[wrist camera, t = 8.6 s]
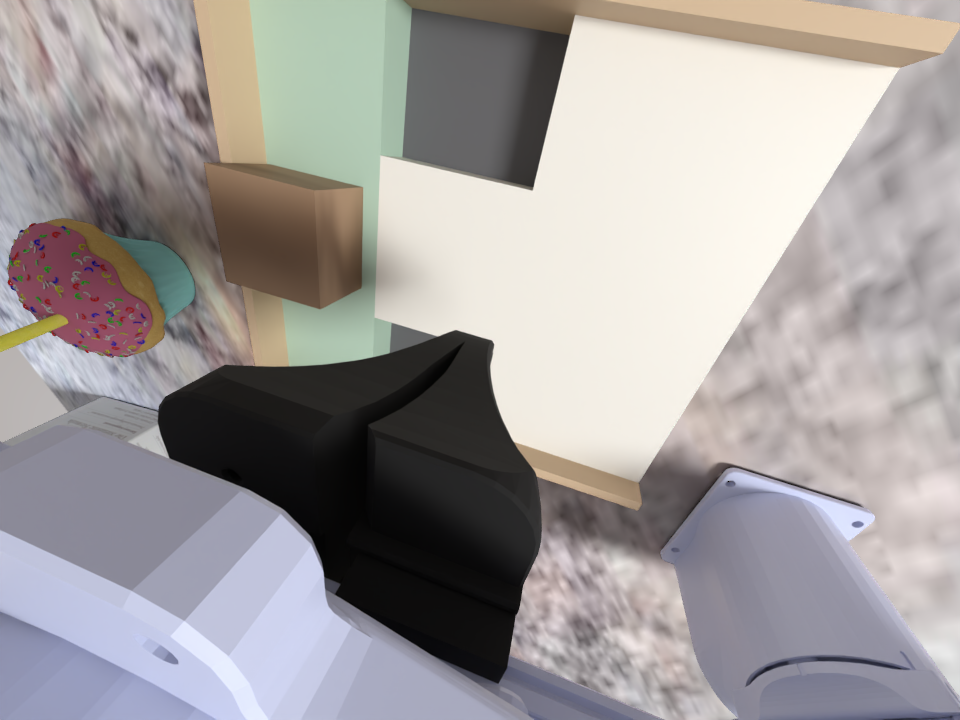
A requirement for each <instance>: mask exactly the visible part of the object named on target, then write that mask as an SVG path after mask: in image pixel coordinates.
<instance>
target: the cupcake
mask: <svg viewBox="0 0 960 720" xmlns="http://www.w3.org/2000/svg"><path fill="white" fill-rule="evenodd" d="M21 232H22V233H21ZM7 270H8V275H9V280H8V284H9V285H10V287H11V289H12V290H14V291H16V292H17V294H18V296H19V301H20V302H21V303H23V307H24V308H25V309H27V310H29V311H31V313H32V314H33V315H34V316H35V317H36V319H37V320H38V322H35V323H33V324H30V325H28V326H25V327H23V328H20V329H18V330H15V331H12V332H10V333H7V334H5V335H2V336H0V352H2V351H4V350H7V349H9V348H11V347H14V346H16V345H19V344H21V343H23V342H26V341H28V340H30V339H33V338H35V337H38V336H40V335H42V334H45V333H47V332H50V333H52V335H53V336H58V337H60V338H61V339H63V340H64V341H65V342H66V343H68V344H72V345H73V346H75V347H78V348H79V349H80V350H83V351H86V352H87V353H89V352H88V351H90V352H95V353H97V354H99V355H101V354H102V355H101V356H108V357H110V358H113V357H114V356H118V357H128V356H131V355H134V354H138V353H141V352H143V351H146V350H148V349H150V348H152V347H154V346H155V345H156V344H157V343H158V342H160V341H161V340H162V339H163V338H164V335H165V332H164V325H165V324H166V323H167V322H168V321H169V320H170V319H171V318H172V317H173V316H175V315H176V314H177V313H178V312H180V311H181V310H182V309H184V308H185V307H187V306H188V305H189V304H190V303H191V302H192V301H193V299H194V296H195V285H194V281H193V278H192V275H191V273H190V271H189V269H188V268H187V266H186V265H185V263H184V262H183V261H182V259H181V258H180V257H179V256H178V255H177V254H176V253H175V252H174V251H172V250H171V249H170V248H168V247H167V246H165V245H163V244H161V243H158V242H154V241H145V240H136V239H128V238H122V237H117V236H113V235H110V234H107V233H103V232H102V231H101V230H100V229H99V228H97V227H96V226H94V225H92V224H89V223H85V222H81V221H76V220H72V219H55V220H51V221H48V222H44V223H39V224H36V223H33V224H31V225H30V226H29V228H27V229H25V230H20V232H19V234H18V238H17V240H15V239H14V245H13V246H12V248H11V253H10V255H9V265H8V267H7ZM10 282H11V283H12V284H10ZM25 306H26V307H25ZM111 356H112V357H111Z"/></svg>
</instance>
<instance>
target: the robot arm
mask: <svg viewBox="0 0 960 720" xmlns="http://www.w3.org/2000/svg"><path fill="white" fill-rule="evenodd" d="M493 349H494V343H493V341H492V340H489V339H485V338H482V337H478V336H475V335H472V334H468V333H465V332H461V331H458V330H454V331H451V332H448V333H446V334H443V335H440V336H438V337H435V338H433V339H430V340H427V341H425V342H422V343H420V344H417V345H414V346H411V347H408V348H404V349H401V350H398V351H395V352H392V353H388V354H384V355H380V356H376V357H371V358H366V359H361V360H355V361H347V362H340V363H332V364H323V365H309V366H277V367H272V366H236V365H224V366H222V367H220V368H218V369H216V370H214V371H213V372H211V373H209V374H207V375H205V376H203V377H201V378H199V379H198V380H196V381H194V382H192V383H190V384H188V385H186V386H185V387H183V388H181V389H179V390H177V391H175V392H173V393H172V394H170V395H168V396H166V397H165V398H164V399H163V401H162V403H161V404H160V406H159V411H158V421H157V422H158V426H159V430H160V434H161V437H162V440H163V443H164V445H165V448H166V451H167V453H168V456H169V458H167V457H164V456H162V455H159V454H157V453H154V452H152V451H149V450H146V449H144V448H141V447H139V446H136V445H134V444H131V443H129V442H126V441H124V440H121V439H119V438H116V437H113V436H111V435H108V434H106V433H103V432H101V431H98V430H92V429H86V428H80V427H74V426H64V425H56V426H54V427H52V428H50V429H48V430H45V431H43V432H41V433H39V434H37V435H35V436H33V437H31V438H29V439H26V440H24V441H22V442H20V443H18V444H16V445H14V446H10V445H7V444H5V443H3V442H0V720H664V719H662V718H659V717H657V716H654V715H652V714H650V713H647V712H645V711H643V710H640V709H638V708H635V707H633V706H631V705H628V704H626V703H623V702H621V701H619V700H616V699H614V698H611V697H609V696H607V695H604V694H602V693H600V692H597V691H595V690H592V689H590V688H588V687H585V686H583V685H580V684H578V683H576V682H573V681H571V680H568V679H566V678H564V677H561V676H559V675H557V674H554V673H552V672H549V671H547V670H545V669H542V668H540V667H537V666H535V665H533V664H530V663H528V662H526V661H523V660H521V659H518V658H516V657H514V656H511V655H509V653H510V647H511V641H512V635H513V628H514V622H515V616H516V615H517V613H518V610H519V607H520V601H521V595H522V588H523V584H524V582H525V580H526V578H527V576H528V574H529V572H530V569H531V567H532V565H533V563H534V561H535V559H536V557H537V555H538V551H539V548H540V543H541V532H542V523H541V505H540V496H539V489H538V482H537V477H536V473H535V471H534V469H533V468H532V467H531V465H530V464H529V463H528V462H527V460H526V459H525V458H524V456H523V455H522V454H521V452H520V451H519V450H518V448H517V446H516V445H515V443H514V441H513V440H512V438H511V436H510V434H509V432H508V430H507V428H506V426H505V424H504V422H503V419H502V417H501V414H500V412H499V409H498V406H497V403H496V399H495V396H494V391H493V386H492V380H491V370H490V362H491V358H492V354H493ZM727 481H731V482H727ZM874 520H875V516H874V515H873V514H872V512H871V511H870V510H868V509H866V508H863V507H860V506H857V505H853V504H850V503H847V502H844V501H841V500H837V499H834V498H831V497H828V496H825V495H821V494H818V493H815V492H812V491H809V490H806V489H802V488H799V487H796V486H793V485H790V484H786V483H783V482H780V481H777V480H774V479H770V478H767V477H764V476H761V475H758V474H754V473H751V472H748V471H745V470H742V469H738V468H729V469H726V470H725V471H724V472H723V473H722V475H721V476H720V477H719V478H718V480H717V481H716V482H715V483H714V485H713V486H712V487H711V488H710V490H709V491H708V492H707V494H706V495H705V496H704V497H703V499H702V500H701V501H700V502H699V504H698V505H697V506H696V507H695V509H694V510H693V511H692V512H691V514H690V515H689V516H688V517H687V519H686V520H685V521H684V522H683V524H682V525H681V526H680V527H679V529H678V530H677V531H676V532H675V534H674V535H673V536H672V537H671V539H670V540H669V541H668V543H667V544H666V545H665V546H664V548H663V549H662V550H661V552H660V554H661V558H662V559H663V560H664V561H666V562H669V563H672V564H674V566H675V570H676V574H677V579H678V583H679V587H680V592H681V596H682V600H683V605H684V609H685V613H686V618H687V622H688V626H689V631H690V635H691V639H692V644H693V648H694V652H695V655H696V658H697V661H698V663H699V666H700V668H701V670H702V672H703V674H704V676H705V678H706V679H707V681H708V683H709V684H710V686H711V688H712V689H713V691H714V692H715V693H716V695H717V696H718V698H719V699H720V700H721V701H722V703H723V704H724V705H725V706H726V707H727V708H728V709H729V710H730V711H731V712H732V713H733V714H734V715H735V716H736V717H737V718H738V719H733V720H960V696H959V695H958V694H957V693H956V692H955V691H954V689H953V688H952V686H951V685H950V684H949V682H948V681H947V679H946V678H945V677H944V675H943V674H942V672H941V671H940V670H939V668H938V667H937V665H936V664H935V663H934V661H933V660H932V658H931V657H930V656H929V654H928V653H927V651H926V650H925V649H924V647H923V646H922V644H921V643H920V642H919V640H918V639H917V637H916V636H915V635H914V633H913V632H912V630H911V629H910V628H909V626H908V625H907V623H906V622H905V621H904V619H903V618H902V616H901V615H900V614H899V612H898V611H897V609H896V608H895V607H894V605H893V604H892V602H891V601H890V600H889V598H888V597H887V596H886V594H885V593H884V591H883V590H882V589H881V587H880V586H879V584H878V583H877V582H876V580H875V579H874V577H873V576H872V575H871V573H870V572H869V570H868V569H867V568H866V566H865V565H864V563H863V562H862V561H861V559H860V558H859V556H858V555H857V554H856V552H855V551H854V549H853V548H852V547H851V545H850V544H849V542H848V541H850V540H851V539H852V538H853V537H855V536H856V535H857V534H858V533H860V532H861V531H862V530H863V529H865V528H866V527H867V526H868V525H870V524H871V523H872V522H873V521H874Z"/></svg>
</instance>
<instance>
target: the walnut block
mask: <svg viewBox="0 0 960 720" xmlns="http://www.w3.org/2000/svg"><path fill="white" fill-rule="evenodd" d="M204 166H205V171H206V177H207V182H208V187H209V192H210V198H211V203H212V208H213V213H214V219H215V224H216V229H217V234H218V240H219V245H220V250H221V255H222V261H223V266H224V271H225V276H226V281H227V282H230V283H234V284H237V285H240V286H244V287H247V288H250V289H254V290H257V291H260V292H264V293H267V294H270V295H274V296H277V297H280V298H283V299H287V300H290V301H293V302H297V303H300V304H303V305H307V306H310V307H313V308H317V309H322V308H324V307H326V306H328V305H330V304H332V303H334V302H336V301H338V300H340V299H341V298H343V297H345V296H347V295H349V294H351V293H353V292H355V291H357V290H359V289H361V288H362V236H363V187H360V186H356V185H352V184H348V183H344V182H340V181H336V180H332V179H328V178H324V177H320V176H316V175H312V174H308V173H304V172H299V171H295V170H291V169H287V168H283V167H279V166H275V165H271V164H240V163H204Z"/></svg>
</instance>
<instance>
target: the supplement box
mask: <svg viewBox="0 0 960 720" xmlns="http://www.w3.org/2000/svg"><path fill="white" fill-rule="evenodd" d="M157 421H158V412H157V411H153V410H150V409H146V408H143V407H139V406H135V405H132V404H128V403H125V402H121V401H118V400H114V399H111V398H107V397H100V398H99V399H96V400H94V401H92V402H89V403H87V404H85V405H83V406H81V407H79V408H77V409H74V410H72V411H70V412H68V413H66V414H64V415H61V416H59V417H57V418H55V419H53V420H51V421H48V422H46V423H44V424H42V425H40V426H37V427H35V428H33V429H31V430H29V431H27V432H24V433H22V434H20V435H18V436H16V437H14V438H12V439H9V440H7V441H5V442H3V443H5V444H7V445H10V446H14V445H16V444H18V443H20V442H22V441H24V440H26V439H29V438H31V437H33V436H35V435H37V434H39V433H41V432H43V431H45V430H48V429H50V428H52V427H54V426H56V425H64V426H74V427H80V428H86V429H92V430H98V431H101V432H103V433H106V434H108V435H111V436H113V437H116V438H119V439H121V440H124V441H126V442H129V443H131V444H134V445H136V446H139V447H141V448H144V449H146V450H149V451H152V452H154V453H157V454H159V455H162V456H164V457H167V458H169V456H168V453H167V451H166V448H165V445H164V443H163V440H162V437H161V434H160V430H159V426H158V422H157Z"/></svg>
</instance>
